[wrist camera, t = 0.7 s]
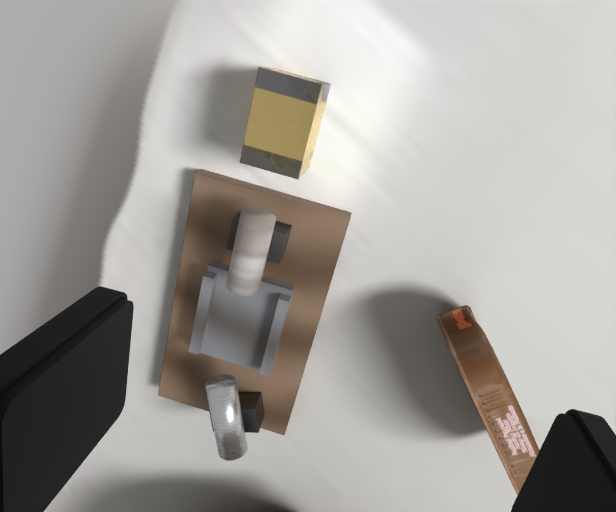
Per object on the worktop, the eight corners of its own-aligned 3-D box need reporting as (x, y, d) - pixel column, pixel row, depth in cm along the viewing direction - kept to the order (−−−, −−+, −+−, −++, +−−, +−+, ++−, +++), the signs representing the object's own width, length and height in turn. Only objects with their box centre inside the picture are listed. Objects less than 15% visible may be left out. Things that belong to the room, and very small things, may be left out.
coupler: (276, 68, 34) (258, 66, 29) (330, 83, 33) (322, 84, 29) (258, 151, 36) (239, 162, 31) (309, 166, 36) (298, 179, 31)
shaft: (211, 359, 41) (190, 392, 37) (256, 358, 40) (241, 392, 36) (223, 421, 43) (204, 459, 39) (266, 422, 42) (252, 461, 38)
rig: (202, 169, 37) (168, 185, 31) (351, 212, 36) (345, 237, 31) (165, 385, 45) (132, 430, 39) (287, 424, 44) (272, 475, 38)
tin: (428, 297, 38) (440, 354, 30) (467, 283, 37) (489, 337, 29) (496, 442, 41) (522, 526, 34) (533, 432, 41) (568, 516, 33)
